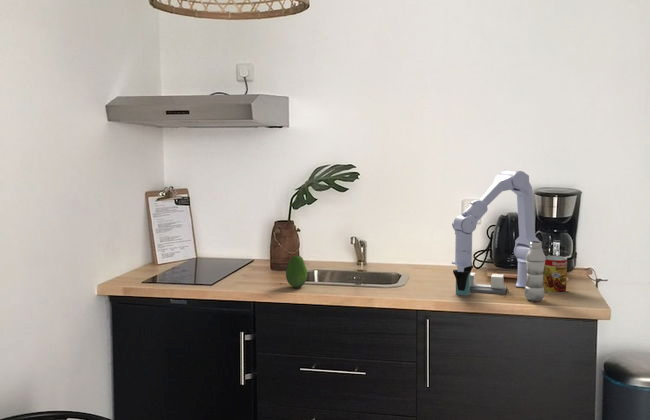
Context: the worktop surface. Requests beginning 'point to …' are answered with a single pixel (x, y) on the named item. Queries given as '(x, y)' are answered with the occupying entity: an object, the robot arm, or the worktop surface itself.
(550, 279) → the canned food
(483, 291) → the rail board
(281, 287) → the worktop surface
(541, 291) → the plastic bottle
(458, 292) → the block
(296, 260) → the avocado
